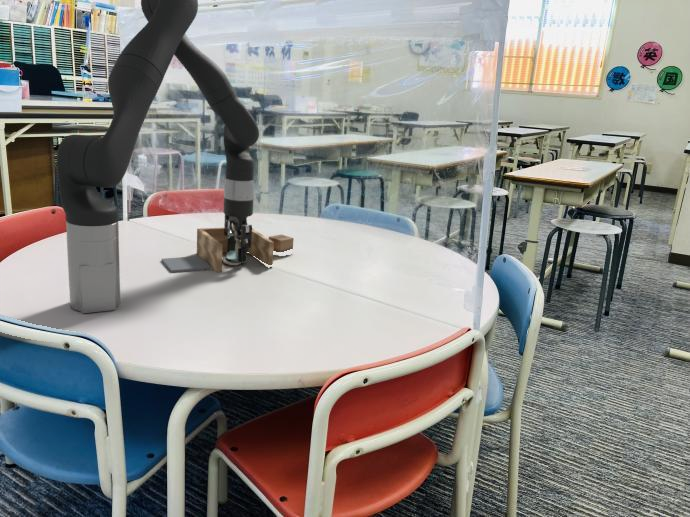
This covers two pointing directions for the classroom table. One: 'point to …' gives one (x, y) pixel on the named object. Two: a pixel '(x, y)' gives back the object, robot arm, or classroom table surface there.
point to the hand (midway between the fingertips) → (236, 257)
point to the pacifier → (232, 257)
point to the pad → (186, 264)
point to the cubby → (215, 244)
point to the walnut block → (282, 243)
